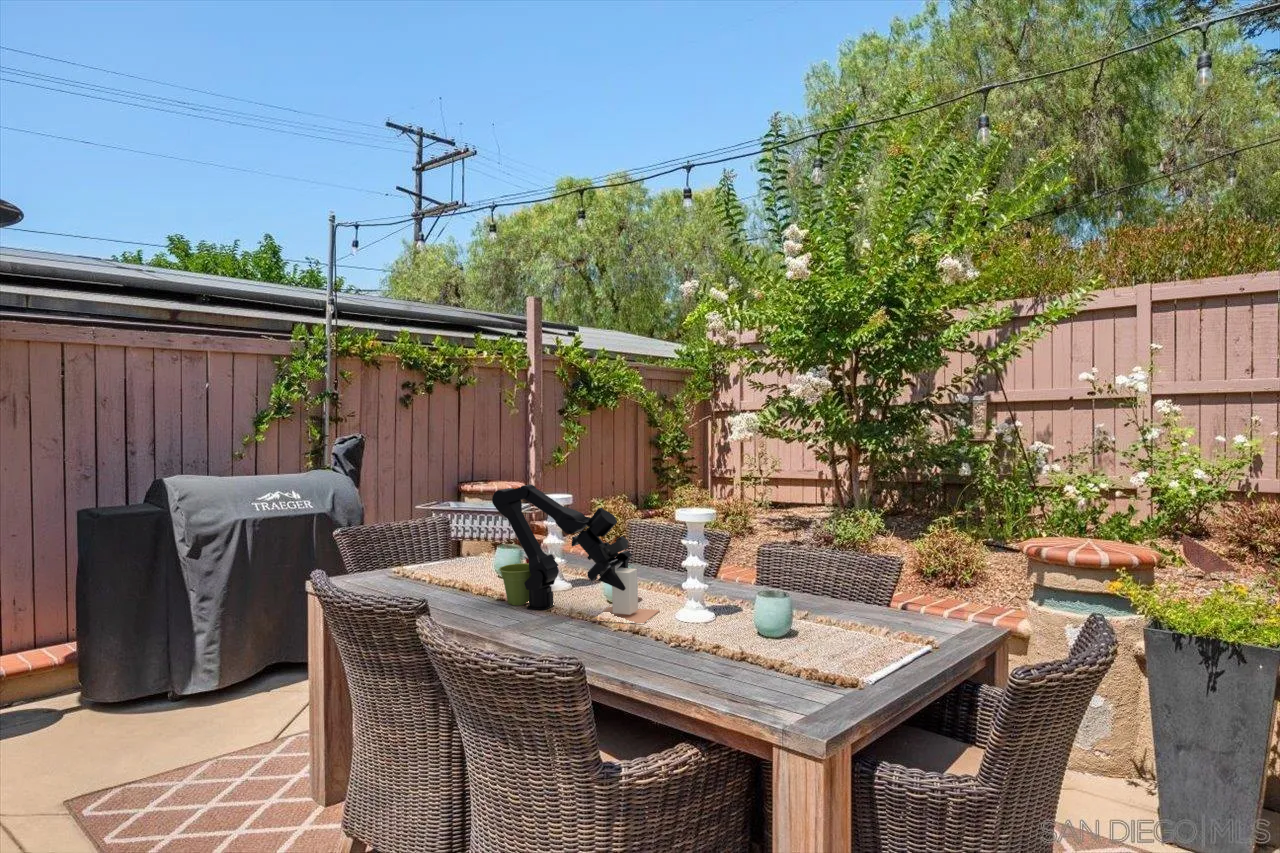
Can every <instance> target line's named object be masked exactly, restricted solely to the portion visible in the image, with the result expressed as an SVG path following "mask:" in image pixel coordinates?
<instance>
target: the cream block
mask: <svg viewBox="0 0 1280 853" xmlns="http://www.w3.org/2000/svg"><path fill="white" fill-rule="evenodd" d="M615 573H616V574H617V576H618V577H619V579H620V580H621V581H622V583H623V584H624V586H625V588H626V589H625V590H624V591H622V590H620V589H618V588H616V587H613V586H611V592H612V593H611V595H612V598H611V599H612V607H613V613H619V614H628V615H630V614H632V613H634V612H635V611H637V610H638V609H639V595H638V594H639V590H638V589H639V586H638V581H639V580H638V569H637V568H631V567H630V568H629V567H628V568H619V569H616V570H615Z"/></svg>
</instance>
